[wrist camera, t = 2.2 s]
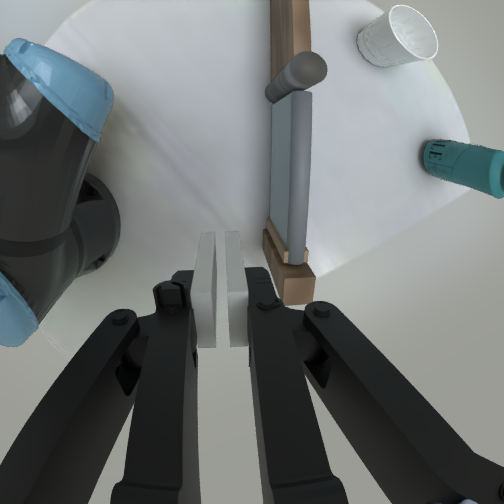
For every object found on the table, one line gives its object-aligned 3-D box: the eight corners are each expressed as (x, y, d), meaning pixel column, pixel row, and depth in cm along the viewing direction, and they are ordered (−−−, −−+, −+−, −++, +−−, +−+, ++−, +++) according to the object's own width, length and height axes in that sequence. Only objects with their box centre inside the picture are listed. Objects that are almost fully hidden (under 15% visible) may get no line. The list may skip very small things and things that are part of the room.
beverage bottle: (439, 179, 37) (530, 215, 19) (413, 170, 36) (512, 206, 18) (444, 143, 34) (538, 165, 16) (418, 132, 33) (521, 148, 15)
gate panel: (268, 105, 30) (290, 89, 19) (287, 106, 30) (318, 92, 20) (266, 227, 36) (284, 265, 26) (284, 226, 37) (308, 264, 26)
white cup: (402, 71, 29) (445, 62, 20) (361, 70, 29) (401, 56, 20) (388, 27, 26) (426, 10, 17) (346, 24, 26) (380, 0, 17)
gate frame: (262, 249, 39) (282, 305, 26) (265, -9, 23) (285, -64, 11) (283, 248, 39) (312, 303, 26) (286, -6, 24) (315, -59, 11)
